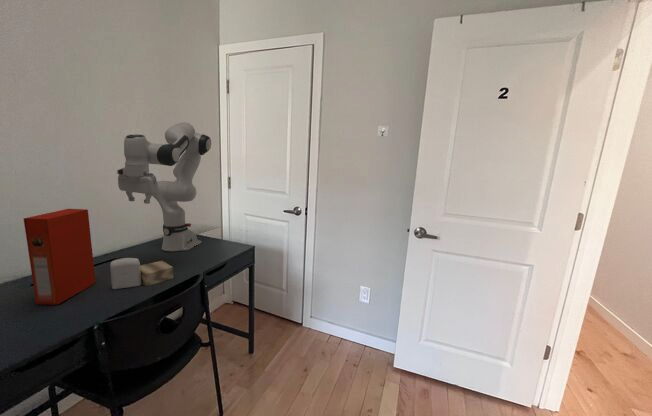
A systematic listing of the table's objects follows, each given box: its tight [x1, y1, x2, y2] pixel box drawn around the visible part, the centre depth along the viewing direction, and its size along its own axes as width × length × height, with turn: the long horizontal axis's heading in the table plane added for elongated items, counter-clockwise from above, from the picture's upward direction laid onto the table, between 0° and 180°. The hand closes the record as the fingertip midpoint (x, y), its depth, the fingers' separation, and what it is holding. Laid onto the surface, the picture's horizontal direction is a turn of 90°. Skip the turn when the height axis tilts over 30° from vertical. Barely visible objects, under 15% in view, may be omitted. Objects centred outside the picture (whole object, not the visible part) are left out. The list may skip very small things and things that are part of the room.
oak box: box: [140, 260, 174, 288], centre depth 125 cm, size 11×11×6 cm
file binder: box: [23, 208, 96, 306], centre depth 106 cm, size 8×17×32 cm, turn 2°
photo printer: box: [109, 257, 142, 290], centre depth 116 cm, size 10×4×12 cm, turn 117°
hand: (139, 202), depth 127 cm, fingers open, 8 cm apart
